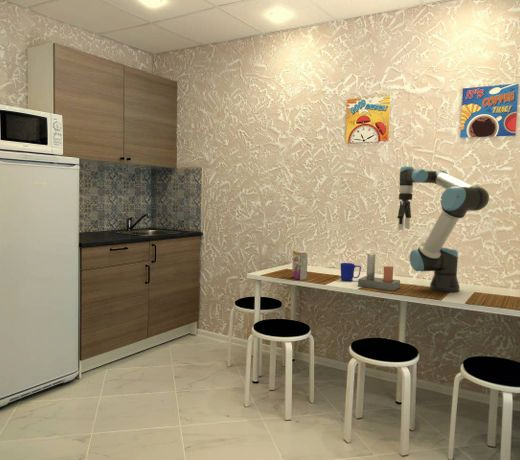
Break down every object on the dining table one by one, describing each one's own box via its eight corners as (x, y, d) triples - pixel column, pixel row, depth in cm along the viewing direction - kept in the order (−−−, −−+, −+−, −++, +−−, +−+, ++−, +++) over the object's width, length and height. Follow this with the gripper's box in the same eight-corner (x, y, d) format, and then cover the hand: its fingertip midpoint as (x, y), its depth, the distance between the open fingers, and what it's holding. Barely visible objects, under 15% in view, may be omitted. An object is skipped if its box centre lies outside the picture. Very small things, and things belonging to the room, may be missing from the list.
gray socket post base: (399, 287, 258) (401, 255, 257) (393, 290, 248) (395, 257, 247) (365, 283, 269) (366, 252, 267) (357, 286, 258) (359, 254, 257)
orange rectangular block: (392, 287, 256) (393, 266, 255) (390, 288, 253) (391, 267, 252) (385, 286, 258) (386, 265, 258) (382, 288, 255) (383, 266, 254)
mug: (360, 282, 270) (361, 265, 270) (339, 281, 273) (340, 264, 272) (360, 279, 278) (360, 263, 278) (340, 278, 281) (340, 262, 280)
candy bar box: (291, 277, 282) (292, 250, 281) (298, 276, 284) (299, 250, 283) (299, 280, 272) (300, 252, 270) (307, 280, 274) (308, 252, 272)
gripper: (404, 193, 281) (403, 227, 283) (393, 192, 260) (391, 230, 261) (417, 193, 277) (415, 228, 279) (406, 192, 256) (404, 230, 257)
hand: (403, 229), depth 270 cm, fingers open, 13 cm apart
